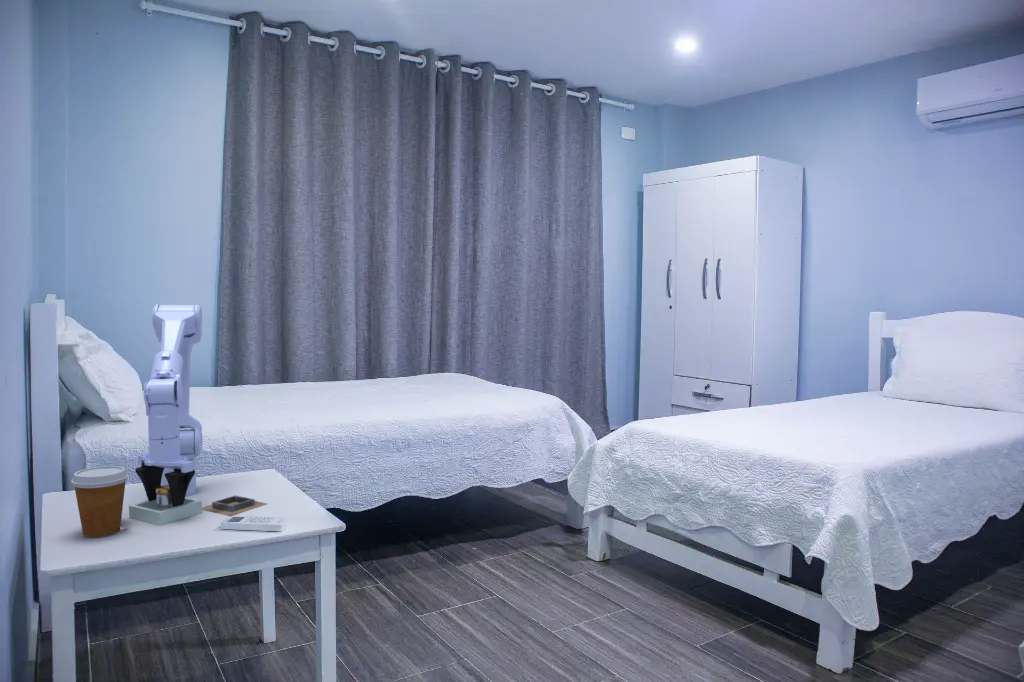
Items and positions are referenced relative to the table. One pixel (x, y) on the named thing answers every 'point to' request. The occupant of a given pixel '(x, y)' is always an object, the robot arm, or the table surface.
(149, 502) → the bin
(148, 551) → the table surface
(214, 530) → the table surface
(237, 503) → the socket plate
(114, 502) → the disposable coffee cup
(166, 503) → the metal can
